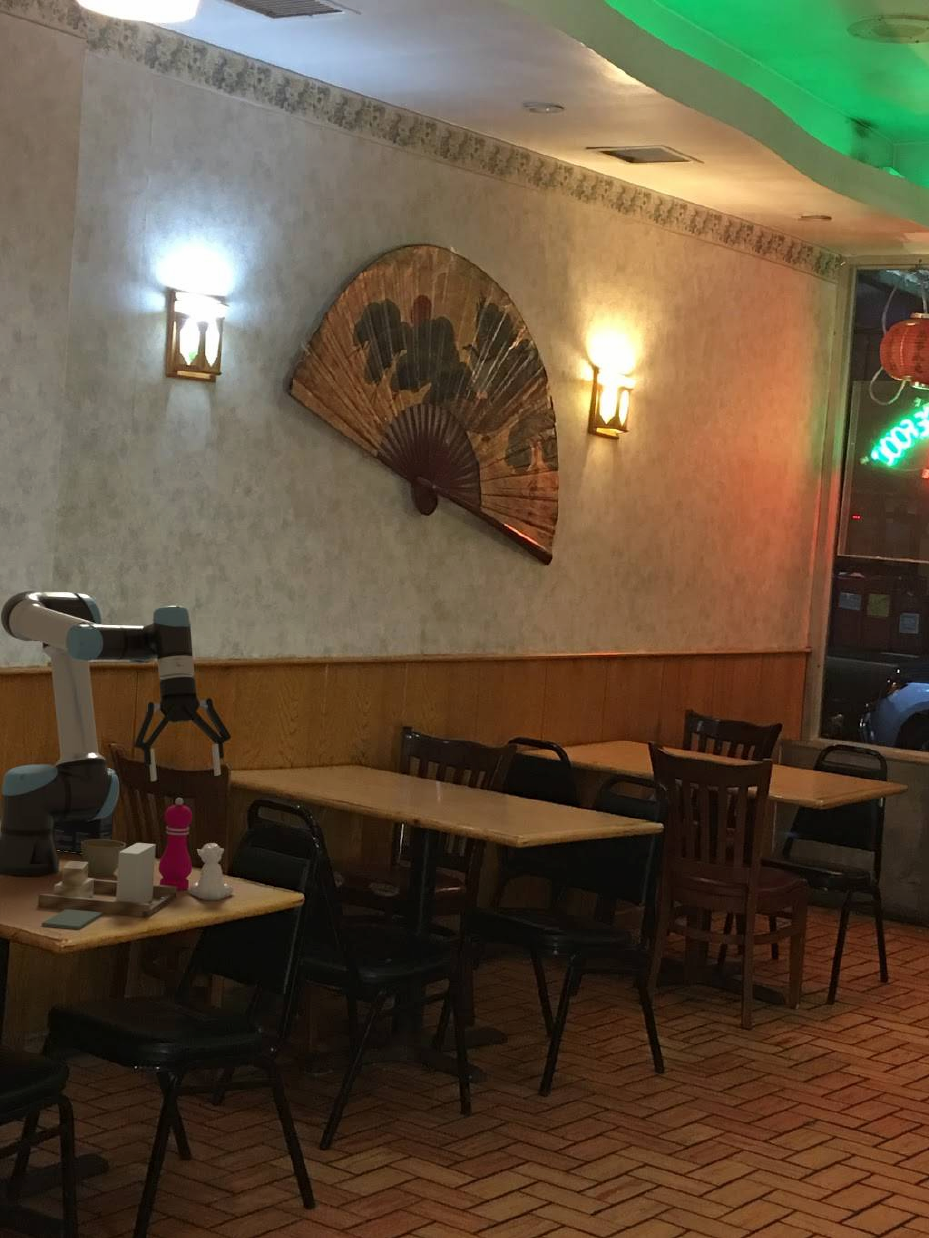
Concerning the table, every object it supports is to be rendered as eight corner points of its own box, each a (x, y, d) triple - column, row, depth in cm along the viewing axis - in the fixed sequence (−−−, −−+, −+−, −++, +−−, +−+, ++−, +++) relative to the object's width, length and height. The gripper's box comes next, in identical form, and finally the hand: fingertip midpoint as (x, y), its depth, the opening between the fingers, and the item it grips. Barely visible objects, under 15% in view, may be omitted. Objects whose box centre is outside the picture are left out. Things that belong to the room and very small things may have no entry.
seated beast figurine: (233, 894, 363) (236, 840, 362) (232, 902, 354) (235, 847, 354) (189, 892, 362) (192, 838, 361) (187, 900, 353) (191, 845, 353)
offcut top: (61, 884, 343) (62, 867, 343) (68, 877, 351) (69, 860, 351) (81, 885, 343) (82, 869, 343) (87, 878, 351) (88, 861, 351)
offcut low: (53, 904, 342) (54, 885, 342) (70, 894, 352) (71, 876, 352) (76, 906, 342) (77, 887, 342) (93, 897, 352) (94, 878, 352)
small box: (112, 852, 401) (115, 803, 400) (98, 857, 394) (101, 807, 394) (65, 846, 405) (68, 797, 404) (50, 850, 398) (52, 801, 398)
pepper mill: (183, 892, 361) (189, 801, 360) (152, 889, 362) (157, 798, 362) (195, 886, 368) (200, 797, 367) (164, 883, 369) (170, 794, 369)
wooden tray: (38, 906, 338) (38, 894, 338) (72, 888, 358) (73, 876, 357) (147, 917, 335) (147, 905, 335) (176, 898, 355) (176, 886, 355)
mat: (41, 925, 322) (41, 922, 322) (66, 911, 335) (66, 908, 335) (78, 929, 321) (79, 926, 321) (102, 915, 334) (102, 912, 334)
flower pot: (85, 879, 368) (87, 847, 367) (74, 870, 376) (76, 839, 376) (129, 878, 372) (131, 846, 372) (117, 869, 381) (119, 838, 381)
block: (115, 910, 340) (118, 852, 339) (134, 898, 352) (137, 842, 351) (134, 911, 339) (137, 853, 339) (152, 900, 351) (155, 844, 351)
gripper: (121, 679, 344) (129, 780, 341) (238, 672, 354) (248, 770, 350) (115, 685, 351) (123, 784, 348) (230, 678, 361) (239, 774, 357)
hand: (186, 777), depth 349 cm, fingers open, 13 cm apart
